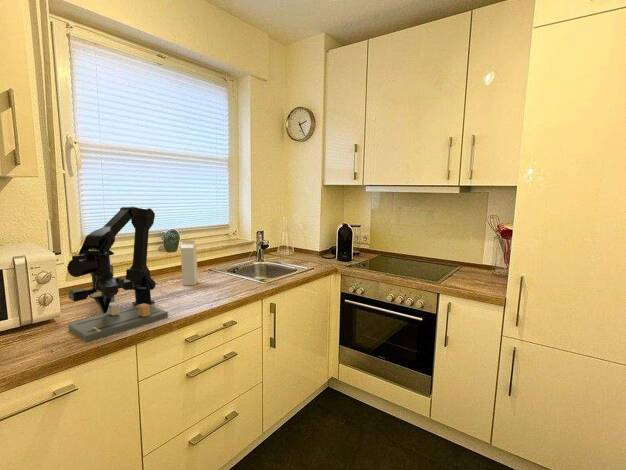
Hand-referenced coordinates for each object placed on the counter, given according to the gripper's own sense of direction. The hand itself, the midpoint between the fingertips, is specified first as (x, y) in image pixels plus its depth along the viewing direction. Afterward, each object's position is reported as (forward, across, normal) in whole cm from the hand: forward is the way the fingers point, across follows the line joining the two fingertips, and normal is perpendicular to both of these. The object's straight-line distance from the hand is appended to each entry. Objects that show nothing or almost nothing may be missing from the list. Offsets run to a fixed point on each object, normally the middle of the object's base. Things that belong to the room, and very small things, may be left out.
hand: (104, 313), depth 117 cm
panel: (+3, +3, -5) cm, 7 cm away
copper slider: (+1, +9, -10) cm, 13 cm away
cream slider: (+1, +3, 0) cm, 3 cm away
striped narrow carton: (+4, +10, +25) cm, 27 cm away
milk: (+4, +47, +22) cm, 52 cm away
